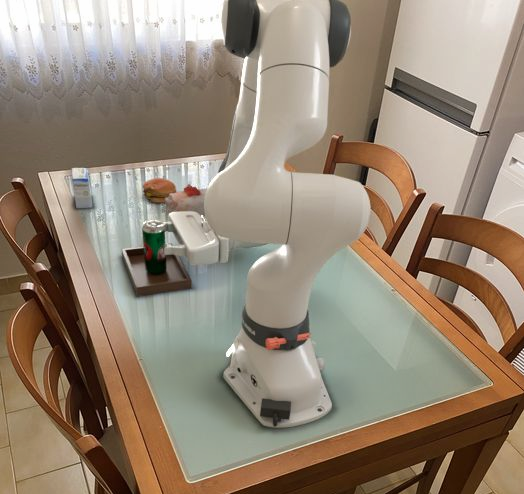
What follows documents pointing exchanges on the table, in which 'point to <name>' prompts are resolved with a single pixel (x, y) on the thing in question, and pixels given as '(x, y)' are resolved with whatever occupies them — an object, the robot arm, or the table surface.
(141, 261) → the tray
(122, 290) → the table surface
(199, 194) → the food item
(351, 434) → the table surface
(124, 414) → the table surface
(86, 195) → the medicine box
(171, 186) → the burger
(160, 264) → the soda can
